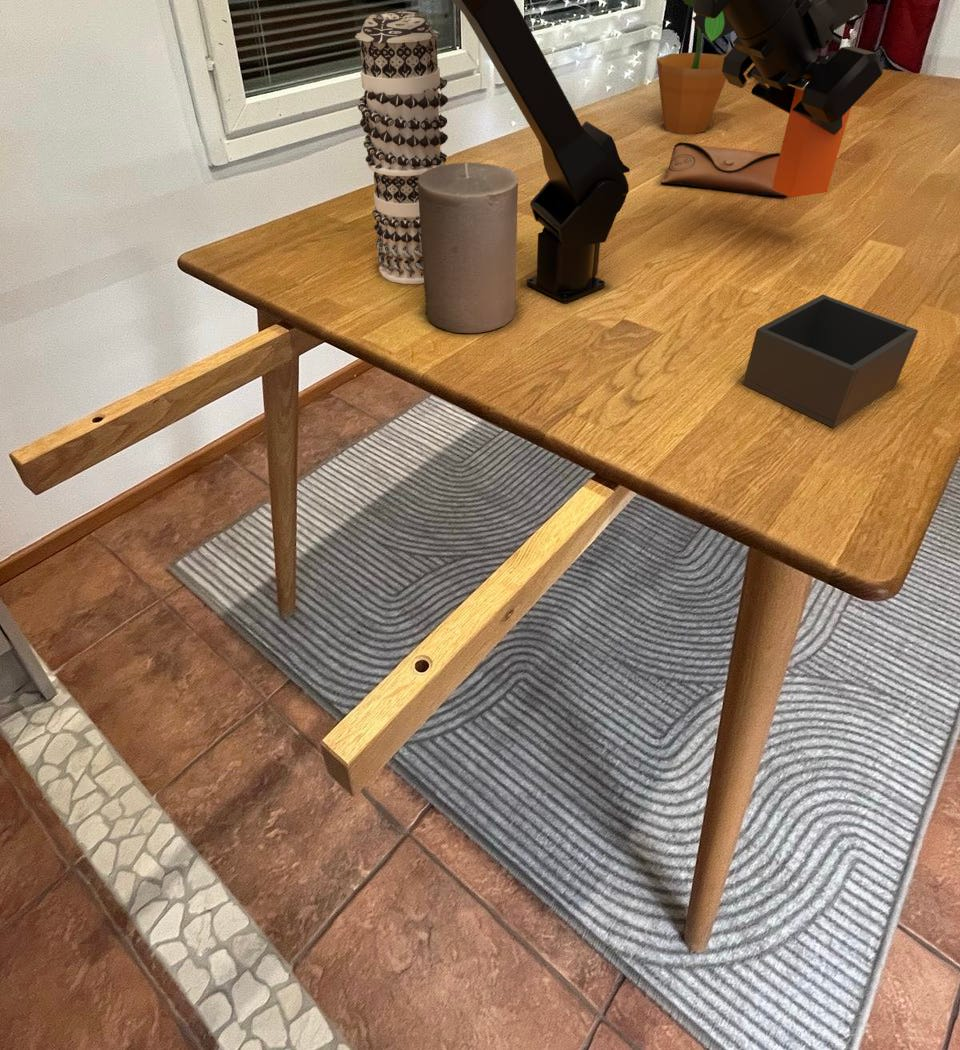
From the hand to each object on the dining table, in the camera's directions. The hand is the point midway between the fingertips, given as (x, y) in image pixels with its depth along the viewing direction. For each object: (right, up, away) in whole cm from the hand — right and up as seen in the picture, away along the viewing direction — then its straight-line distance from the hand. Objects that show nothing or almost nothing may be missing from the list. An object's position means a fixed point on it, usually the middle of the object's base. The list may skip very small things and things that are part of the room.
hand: (826, 126), depth 82 cm
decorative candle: (-46, -14, +6) cm, 48 cm away
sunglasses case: (-2, +6, +26) cm, 27 cm away
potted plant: (-2, +25, +47) cm, 54 cm away
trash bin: (-7, -31, -14) cm, 35 cm away
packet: (-1, -5, +4) cm, 7 cm away
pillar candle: (-39, -21, -2) cm, 44 cm away
